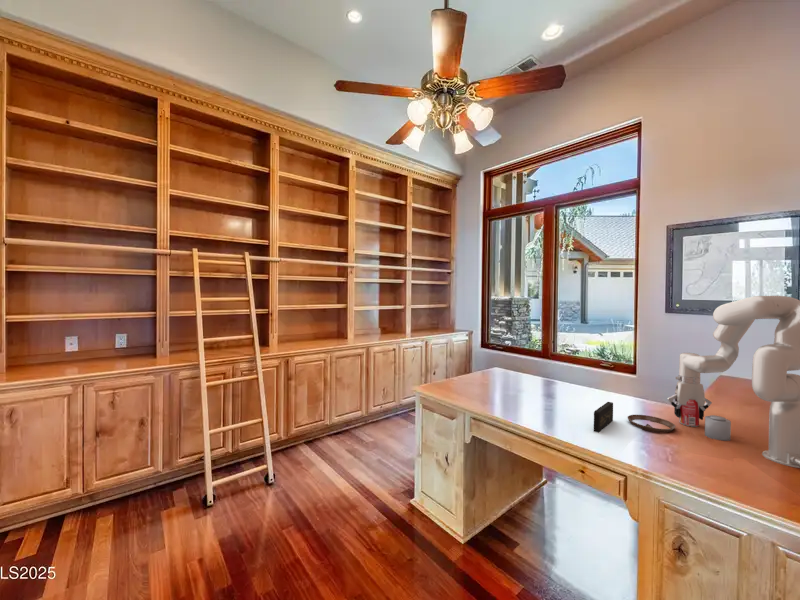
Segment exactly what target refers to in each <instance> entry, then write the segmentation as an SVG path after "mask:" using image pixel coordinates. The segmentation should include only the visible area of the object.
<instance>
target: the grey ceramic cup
mask: <svg viewBox="0 0 800 600" xmlns="http://www.w3.org/2000/svg"><path fill="white" fill-rule="evenodd" d="M731 426H732V421H731V420H730V419H728V418H726V417H724V416H720V415H712V414H711V415H704V436H705V437H706V436H707V438H709V439H712V440H716V441H717V440H718V441H724V442H728V441H729V442H730V441H731V434H732V433H731V431H732V427H731Z"/></svg>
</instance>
